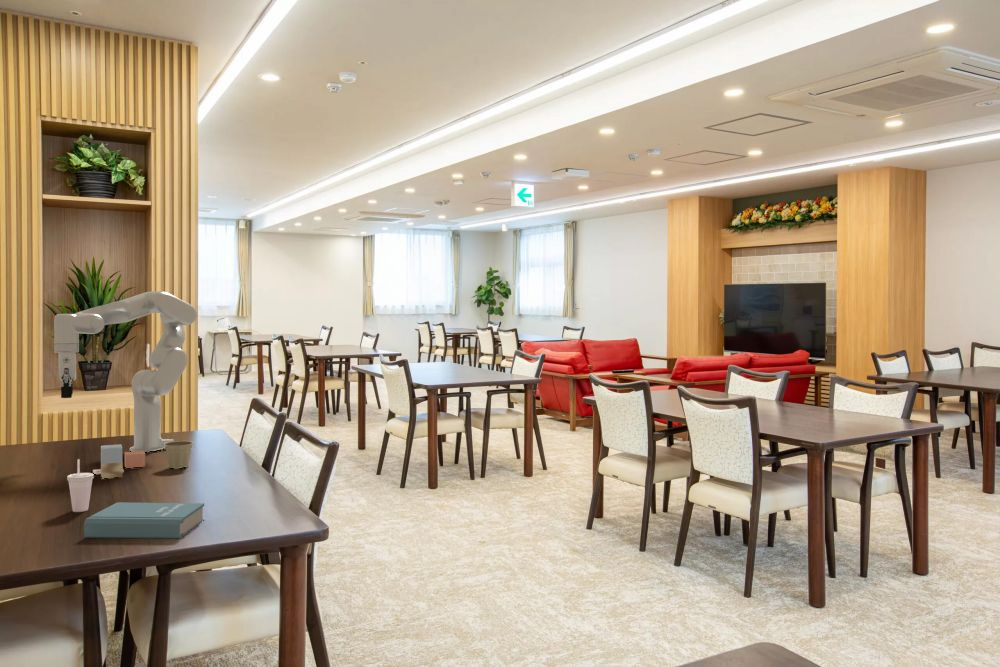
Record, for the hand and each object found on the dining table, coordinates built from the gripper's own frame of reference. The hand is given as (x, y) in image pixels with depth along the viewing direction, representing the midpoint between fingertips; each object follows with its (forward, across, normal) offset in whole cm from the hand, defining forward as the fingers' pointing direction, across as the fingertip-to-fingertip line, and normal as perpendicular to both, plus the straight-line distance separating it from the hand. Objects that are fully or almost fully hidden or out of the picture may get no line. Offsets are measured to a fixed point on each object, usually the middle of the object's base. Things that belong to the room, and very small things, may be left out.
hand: (67, 396), depth 261 cm
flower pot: (+24, -24, -34) cm, 49 cm away
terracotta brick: (+24, -16, -21) cm, 36 cm away
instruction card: (+24, -21, -13) cm, 34 cm away
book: (+24, -99, -20) cm, 104 cm away
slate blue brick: (+19, -30, -14) cm, 38 cm away
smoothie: (+24, -72, -5) cm, 77 cm away
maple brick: (+24, -30, -14) cm, 40 cm away
